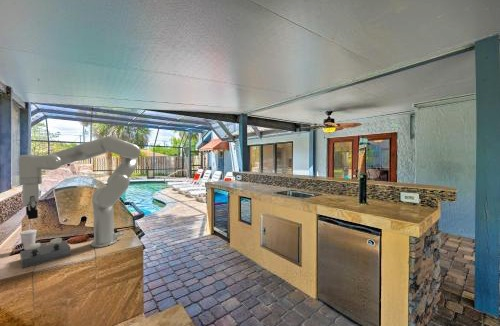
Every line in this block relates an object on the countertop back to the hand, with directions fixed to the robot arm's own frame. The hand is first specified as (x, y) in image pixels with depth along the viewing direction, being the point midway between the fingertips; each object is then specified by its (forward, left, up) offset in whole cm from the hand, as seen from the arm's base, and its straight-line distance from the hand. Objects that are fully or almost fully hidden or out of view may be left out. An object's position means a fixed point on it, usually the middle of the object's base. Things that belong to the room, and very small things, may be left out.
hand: (31, 216), depth 105 cm
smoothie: (0, -17, -22) cm, 27 cm away
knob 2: (-8, +1, -17) cm, 19 cm away
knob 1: (0, +1, -17) cm, 17 cm away
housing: (-4, +1, -21) cm, 22 cm away
